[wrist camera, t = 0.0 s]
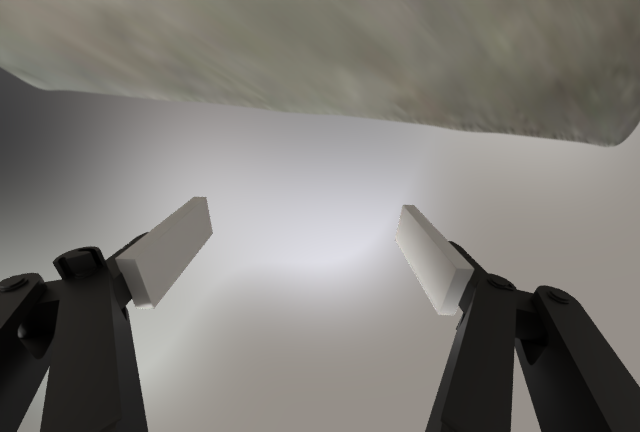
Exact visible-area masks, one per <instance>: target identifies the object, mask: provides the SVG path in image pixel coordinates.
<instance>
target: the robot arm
mask: <svg viewBox="0 0 640 432" xmlns="http://www.w3.org/2000/svg"><path fill="white" fill-rule="evenodd" d="M212 233H213V232H212V227H211V222H210V216H209V210H208V205H207V200H206V197H193V198H192V199H191V200H190V201H188V202H187V203H186V204H184V205H183V206H182V207H181V208H179V209H178V210H177V211H175V212H174V213H173V214H172V215H170V216H169V217H168V218H166V219H165V220H164V221H163V222H161V223H160V224H159V225H157V226H156V227H155V228H154V229H152V230H151V231H150V232H146V233H144V234H142V235H140V236H138V237H136V238H135V239H133V240H132V241H131V242H129V244H127V245H125V246H124V247H123V249H120V250H119V251H117V252H116V253H115V254H113V255H112V256H111V257H109V258H108V259H107V260H105V259H104V257H103V255H102V253H101V250H100V249H99V248H97V247H83V248H78V249H74V250H71V251H68V252H66V253H64V254H62V255H60V256H59V257H57V258H56V259H55V260H54V261H53V264H54V266H55V267H56V269H57V271H58V273H59V274H60V276H61V278H62V280H56V281H49V282H44V280H43V279H42V277H41V276H40V275H39V274H38V273H27V274H21V275H16V276H12V277H10V278H7V279H4V280H2V281H1V282H0V432H17V430H18V428H19V426H20V424H21V422H22V420H23V418H24V416H25V414H26V412H27V410H28V408H29V406H30V404H31V402H32V400H33V398H34V396H35V394H36V392H37V390H38V388H39V386H40V384H41V382H42V380H43V378H44V376H45V374H46V372H47V370H48V368H49V366H50V368H49V375H48V382H47V388H46V395H45V402H44V408H43V415H42V422H41V429H40V432H148V427H147V421H146V416H145V410H144V404H143V397H142V392H141V386H140V380H139V373H138V367H137V362H136V356H135V349H134V344H133V337H132V331H131V325H130V320H129V314H128V310H127V308H126V305H127V304H128V302H129V301H130V300H131V299H132V300H133V302H134V304H135V307H136V308H142V309H143V308H144V309H154V308H155V306H156V305H157V304H158V303H159V301H160V300H161V299H162V297H163V296H164V295H165V294H166V292H167V291H168V290H169V289H170V287H171V286H172V285H173V283H174V282H175V281H176V280H177V278H178V277H179V276H180V275H181V273H182V272H183V271H184V269H185V268H186V267H187V266H188V264H189V263H190V262H191V260H192V259H193V258H194V257H195V255H196V254H197V253H198V251H199V250H200V249H201V248H202V246H203V245H204V244H205V243H206V241H207V240H208V239H209V238H210V236H211V235H212ZM395 240H396V242H397V243H398V245H399V247H400V249H401V251H402V252H403V254H404V256H405V258H406V259H407V261H408V263H409V265H410V266H411V268H412V270H413V271H414V273H415V275H416V277H417V278H418V280H419V282H420V283H421V285H422V287H423V289H424V291H425V292H426V294H427V296H428V297H429V299H430V301H431V303H432V304H433V306H434V308H435V310H436V311H437V313H438V315H455V312H456V310H457V308H458V306H460V308H461V310H462V311H463V315H462V317H461V319H460V321H459V323H458V326H457V328H456V330H457V332H456V335H455V339H454V342H453V345H452V348H451V351H450V354H449V358H448V361H447V364H446V367H445V370H444V373H443V377H442V380H441V383H440V386H439V389H438V392H437V396H436V399H435V402H434V405H433V408H432V411H431V415H430V418H429V421H428V424H427V427H426V430H425V432H510V431H511V410H512V390H513V368H514V347H515V348H516V351H517V355H518V358H519V361H520V365H521V367H522V371H523V374H524V377H525V381H526V384H527V387H528V390H529V393H530V396H531V400H532V403H533V406H534V409H535V413H536V416H537V419H538V422H539V425H540V429H541V432H640V387H639V386H638V384H637V383H636V381H635V380H634V379H633V377H632V376H631V374H630V373H629V372H628V370H627V369H626V368H625V366H624V365H623V363H622V362H621V360H620V359H619V358H618V356H617V355H616V353H615V352H614V351H613V349H612V348H611V346H610V345H609V344H608V342H607V341H606V339H605V338H604V337H603V335H602V334H601V332H600V331H599V330H598V328H597V327H596V325H595V324H594V322H593V321H592V320H591V318H590V317H589V316H588V314H587V313H586V312H585V310H584V308H583V307H582V306H581V304H580V303H579V302H578V301H577V300H576V299H575V298H574V297H572V296H571V295H569V294H568V293H566V292H565V291H562V290H560V289H557V288H554V287H550V286H539V287H538V288H537V289H536V290H535V292H534V293H529V292H525V291H520V290H517V289H516V287H515V286H514V285H513V284H512V283H511V282H509V281H508V280H507V279H505V278H503V277H500V276H498V275H494V274H488V273H487V272H486V271H485V270H484V269H483V268H482V267H481V266H480V265H479V264H478V263H477V262H475V260H474V259H472V257H471V256H470V255H469V254H467V252H466V251H465V250H464V249H463V248H462V247H461V246H459V245H457V244H456V243H454V242H452V241H447V240H446V239H445V237H443V235H442V234H441V233H440V232H439V231H438V230H437V229H436V228H435V227H434V226H433V225H432V224H431V223H430V222H429V221H428V220H427V219H426V218H425V216H424V215H423V214H422V213H421V212H420V211H419V210H418V209H417V208H416V207H415V206H414V205H403V207H402V211H401V216H400V220H399V224H398V229H397V233H396V237H395Z"/></svg>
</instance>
